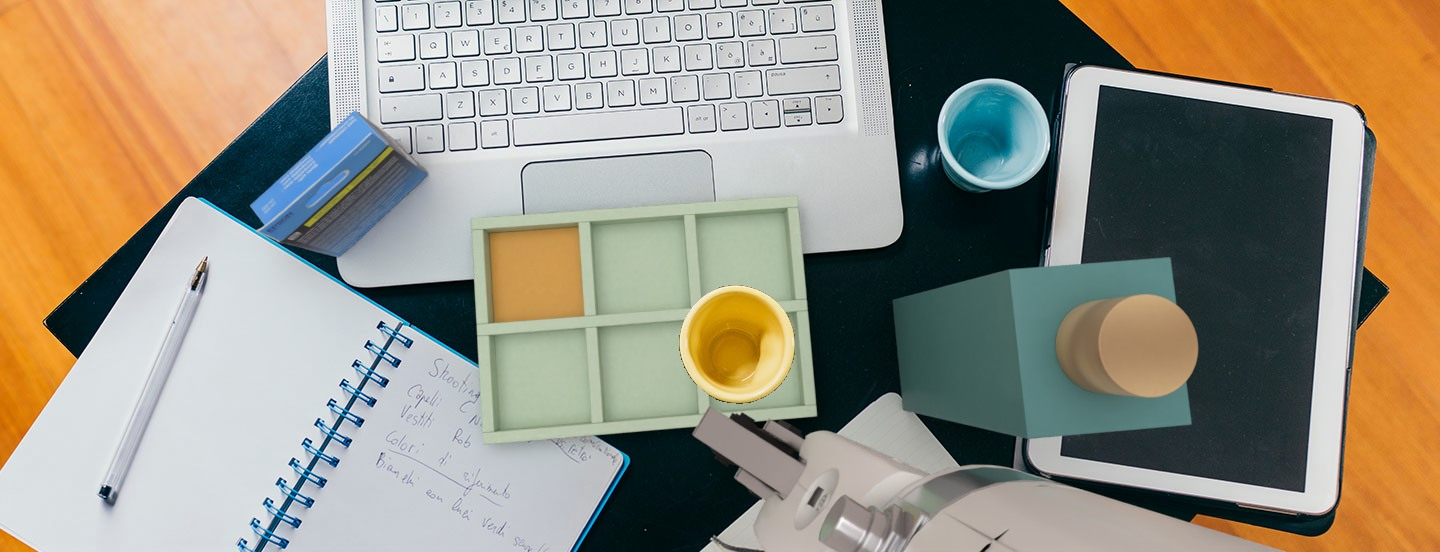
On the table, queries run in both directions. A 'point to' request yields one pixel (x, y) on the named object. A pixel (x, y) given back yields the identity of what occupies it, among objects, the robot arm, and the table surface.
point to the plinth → (1022, 351)
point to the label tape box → (338, 189)
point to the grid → (624, 314)
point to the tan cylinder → (1128, 346)
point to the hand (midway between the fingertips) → (858, 509)
